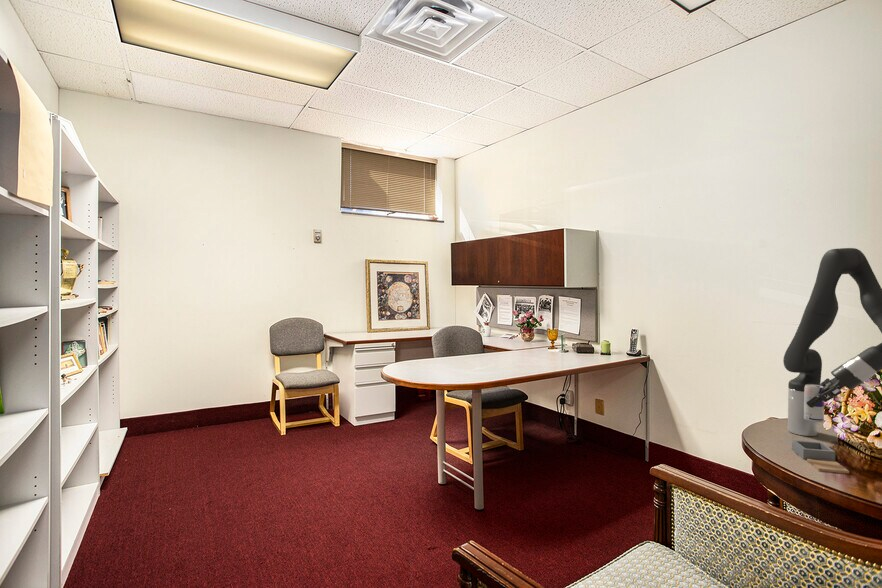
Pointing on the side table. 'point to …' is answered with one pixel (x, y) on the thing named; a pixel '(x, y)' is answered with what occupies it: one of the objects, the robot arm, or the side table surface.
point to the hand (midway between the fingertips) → (807, 403)
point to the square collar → (813, 450)
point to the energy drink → (817, 411)
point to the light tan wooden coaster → (827, 466)
